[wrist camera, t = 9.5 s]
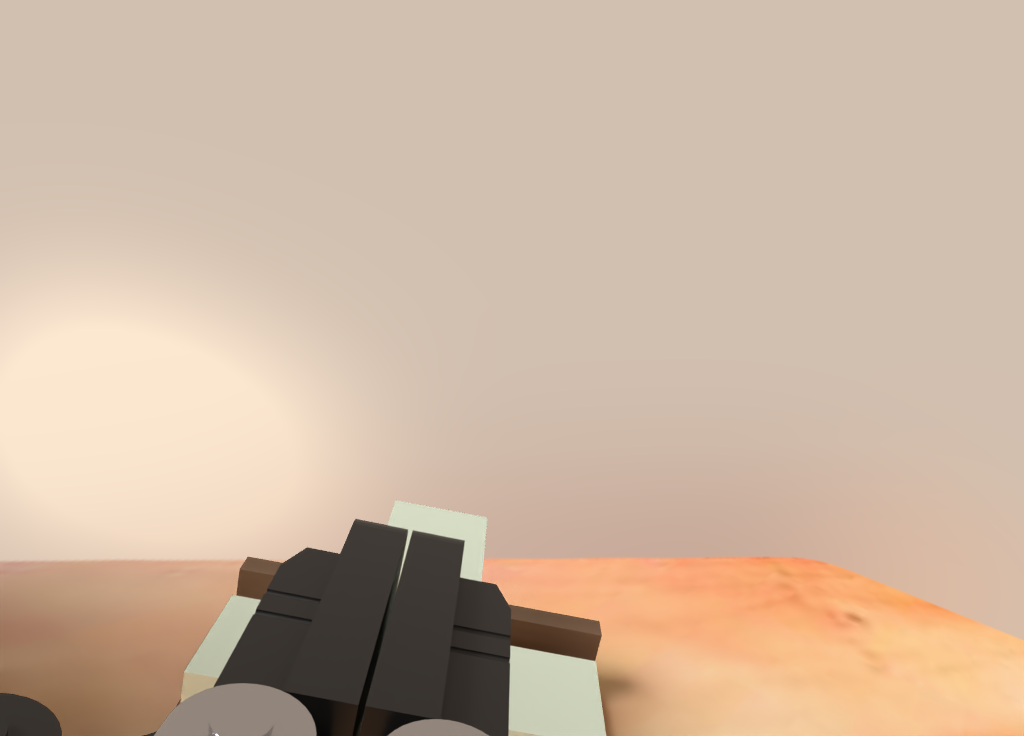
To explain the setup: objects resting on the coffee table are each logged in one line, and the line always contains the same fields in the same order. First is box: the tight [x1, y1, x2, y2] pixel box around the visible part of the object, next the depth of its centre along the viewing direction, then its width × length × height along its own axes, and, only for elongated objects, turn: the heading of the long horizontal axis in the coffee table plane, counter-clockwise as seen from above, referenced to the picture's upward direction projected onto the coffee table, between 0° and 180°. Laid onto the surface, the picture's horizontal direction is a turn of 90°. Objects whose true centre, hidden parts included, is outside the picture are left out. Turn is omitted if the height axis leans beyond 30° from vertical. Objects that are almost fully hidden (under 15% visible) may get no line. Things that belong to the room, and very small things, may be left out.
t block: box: [181, 500, 606, 736], centre depth 31 cm, size 13×12×10 cm
